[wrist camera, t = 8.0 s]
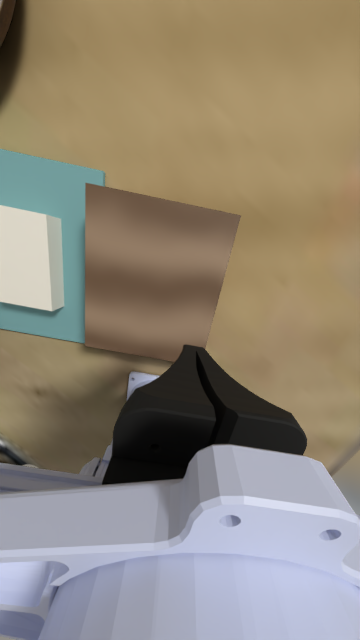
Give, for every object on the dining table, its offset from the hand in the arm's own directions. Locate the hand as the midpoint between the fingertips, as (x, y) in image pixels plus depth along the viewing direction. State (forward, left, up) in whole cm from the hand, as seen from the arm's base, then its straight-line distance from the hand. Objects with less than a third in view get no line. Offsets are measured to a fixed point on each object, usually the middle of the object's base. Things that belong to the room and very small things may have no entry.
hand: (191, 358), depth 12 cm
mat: (+3, +17, -9) cm, 20 cm away
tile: (+3, +17, -7) cm, 19 cm away
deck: (+3, +4, -9) cm, 11 cm away
